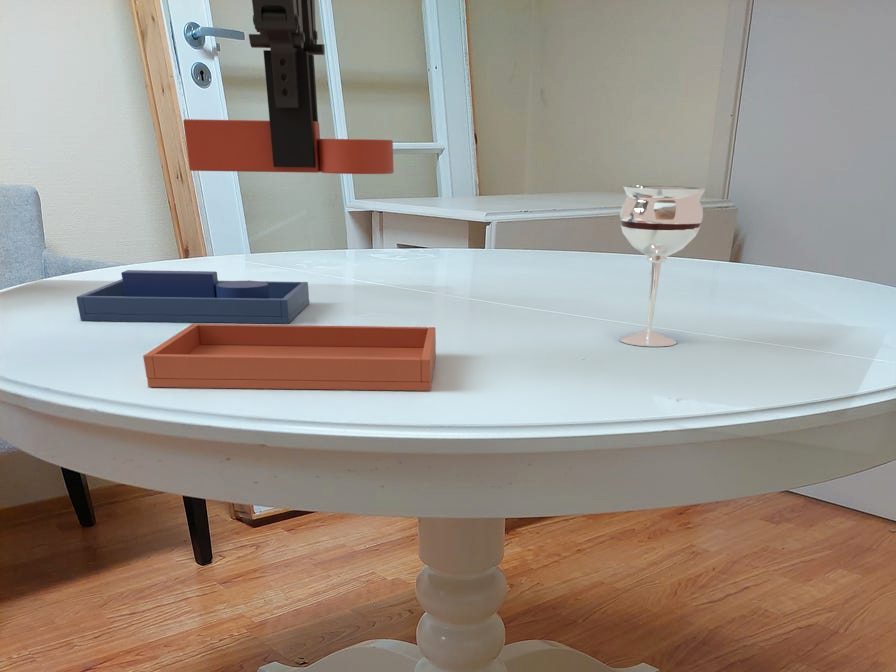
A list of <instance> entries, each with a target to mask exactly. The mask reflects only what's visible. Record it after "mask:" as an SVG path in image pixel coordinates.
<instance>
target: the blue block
mask: <svg viewBox="0 0 896 672" xmlns="http://www.w3.org/2000/svg"><path fill="white" fill-rule="evenodd" d="M120 275H121V279H122V280H123V286H124V292H125V297H189V298H255V299H269V288H268V283H266V282H260V281H259V280H226V281H227V282H220V283H218V281H219V279H218V272H217V271H213V270H212V271H207V270H149V269H148V270H147V269H146V270H145V269H126V270H124V271H122V272H121V273H120Z"/></svg>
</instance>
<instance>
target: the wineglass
mask: <svg viewBox="0 0 896 672" xmlns="http://www.w3.org/2000/svg"><path fill="white" fill-rule="evenodd" d="M622 187H623V189H624V192H625V193H624V194H625V200H624V202H623V204H622V205H621V208H620V211H619V224H620V228H621V232H622V235H623V236H624V237H625V238H626V240H627V241H628V242H629V243H630V245H631V247H633V248H634V249H636V250H637V251H639V252H641V253H642V254H644V255H645V256H646V260H647V261H648V262H649V263H650V264H651V265H650V279H649V295H648V308H647V309H648V312H647V323H646V324H647V325H646V330H644V331H641V332H637V333H633V334H630V335H626V336H623V337H620V338H619V339H618V340H619V341H620V342H621V343H623V344H626V345H631V346H638V347H654V348H655V347H668V346H669V347H670V346H674V345H676V344H677V342H678V341H676V340H675V339H673V338H670V337H668V336H666V335H663V334H660V333H657V332H656V331H653V330H652V328H653V321H654V316H655V315H654V314H655V308H656V300H657V294H658V287H659V280H660V274H661V267H662V263H665V262H666V261H667V260H668V258H667V257H669V256H671V255H673V254H675V253H677V252H680V251H681V250H684V248H685V247H686V246H687V245H689V244H690V242H691V241H692V240H694V238H695V237H696V236H697V235H698V233H699V231H700V229H701V226H702V224H703V219H704V207H703V205H702V203H701V198H702V197H703V196H704V193H705V192H706V189H707V188H706V187H700V186H699V187H697V186H696V187H695V186H679V185H678V186H677V185H623V186H622Z"/></svg>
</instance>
